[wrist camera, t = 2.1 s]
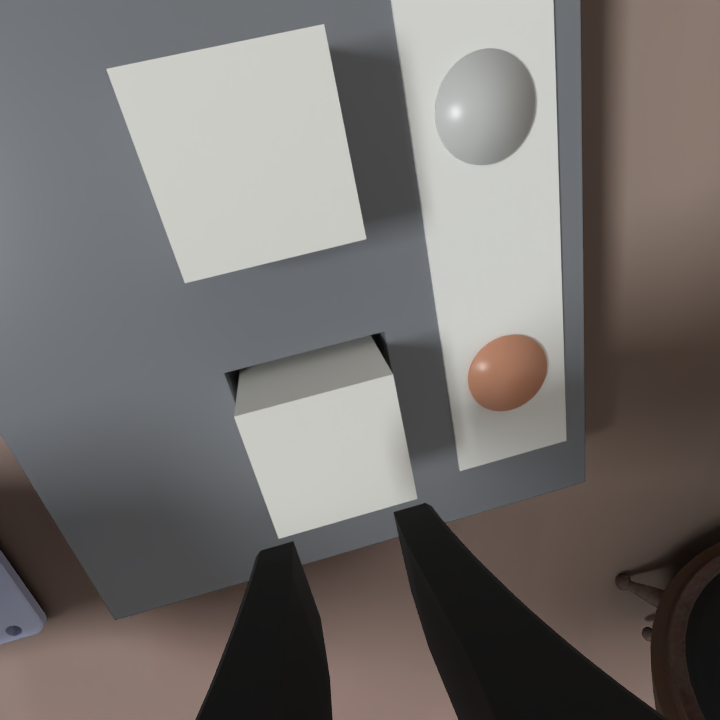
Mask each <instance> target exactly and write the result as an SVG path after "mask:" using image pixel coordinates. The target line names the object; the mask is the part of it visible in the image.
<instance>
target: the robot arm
mask: <svg viewBox="0 0 720 720" xmlns="http://www.w3.org/2000/svg"><path fill="white" fill-rule="evenodd" d="M393 513H394V517H395V522H396V526H397V531H398V535H399V539H400V544H401V548H402V553H403V557H404V561H405V566H406V570H407V575H408V579H409V583H410V588H411V592H412V595H413V598H414V601H415V605H416V608H417V611H418V614H419V618H420V621H421V624H422V627H423V630H424V634H425V637H426V640H427V643H428V646H429V649H430V651H431V654H432V656H433V659H434V661H435V664H436V666H437V669H438V671H439V674H440V676H441V678H442V681H443V683H444V686H445V688H446V691H447V693H448V695H449V698H450V700H451V703H452V705H453V708H454V710H455V712H456V715H457V717H458V720H668V719H667V718H665V717H664V716H662V715H661V714H660V713H658V712H657V711H656V710H654V709H653V708H652V707H650V706H649V705H647V704H646V703H645V702H643V701H642V700H641V699H639V698H638V697H637V696H635V695H634V694H633V693H631V692H630V691H628V690H627V689H626V688H625V687H623V686H622V685H621V684H619V683H618V682H617V681H616V680H614V679H613V678H612V677H610V676H609V675H608V674H606V673H605V672H604V671H603V670H601V669H600V668H599V667H597V666H596V665H595V664H594V663H592V662H591V661H590V660H589V659H587V658H586V657H585V656H584V655H583V654H581V653H580V652H579V651H578V650H576V649H575V648H574V647H573V646H572V645H570V644H569V643H568V642H567V641H566V640H564V639H563V638H562V637H561V636H560V635H558V634H557V633H556V632H555V631H554V630H553V629H552V628H550V627H549V626H548V625H547V624H546V623H545V622H544V621H542V620H541V619H540V618H539V617H538V616H537V615H536V614H534V613H533V612H532V611H531V610H530V609H529V608H528V607H527V606H526V605H524V604H523V603H522V602H521V601H520V600H519V599H518V598H517V597H516V596H515V595H514V594H513V593H512V592H511V591H509V590H508V589H507V588H506V587H505V586H504V585H503V584H502V583H501V582H500V581H499V580H498V579H497V578H496V577H495V576H494V575H493V574H492V573H491V572H490V571H489V570H488V569H487V568H486V567H485V566H484V565H483V564H482V563H481V562H480V561H479V560H478V559H477V558H476V557H475V556H474V555H473V554H472V553H471V552H470V551H469V550H468V548H467V547H466V546H465V545H464V544H463V543H462V542H461V541H460V540H459V539H458V538H457V536H456V535H455V534H454V533H453V532H452V531H451V530H450V528H449V527H448V526H447V525H446V524H445V522H444V521H443V520H442V519H441V518H440V516H439V515H438V514H437V512H436V511H435V510H434V508H433V507H432V506H431V505H429V504H427V503H423V504H420V505H416V506H413V507H409V508H406V509H402V510H399V511H395V512H393ZM46 620H47V617H46V614H45V613H44V612H43V610H42V609H41V607H40V606H39V604H38V603H37V602H36V600H35V599H34V597H33V596H32V594H31V593H30V592H29V590H28V589H27V587H26V586H25V584H24V583H23V582H22V580H21V579H20V577H19V576H18V574H17V573H16V572H15V570H14V569H13V567H12V566H11V564H10V563H9V562H8V560H7V559H6V557H5V556H4V554H3V553H2V552H1V550H0V644H4V643H7V642H11V641H14V640H17V639H21V638H24V637H28V636H31V635H35V634H37V633H39V632H40V631H41V630H42V629H43V627H44V625H45V623H46ZM14 625H15V626H14ZM196 720H332V705H331V689H330V676H329V670H328V663H327V656H326V650H325V643H324V637H323V631H322V625H321V618H320V615H319V612H318V610H317V607H316V604H315V601H314V598H313V595H312V593H311V590H310V587H309V584H308V581H307V578H306V575H305V573H304V570H303V567H302V564H301V561H300V558H299V555H298V553H297V550H296V547H295V544H294V541H292V542H289V543H285V544H282V545H278V546H275V547H271V548H268V549H264V550H261V551H260V552H259V553H258V555H257V556H256V558H255V562H254V565H253V569H252V572H251V575H250V579H249V582H248V585H247V588H246V591H245V594H244V597H243V600H242V603H241V606H240V609H239V612H238V615H237V617H236V620H235V623H234V626H233V629H232V631H231V634H230V637H229V639H228V642H227V644H226V647H225V650H224V652H223V655H222V657H221V660H220V662H219V665H218V668H217V670H216V673H215V675H214V678H213V680H212V683H211V685H210V688H209V690H208V692H207V695H206V697H205V699H204V701H203V704H202V706H201V708H200V711H199V713H198V715H197V718H196Z"/></svg>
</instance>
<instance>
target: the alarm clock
mask: <svg viewBox="0 0 720 720" xmlns="http://www.w3.org/2000/svg"><path fill="white" fill-rule="evenodd" d="M616 585H617V587H618V588H619V589H621V590H630V591H631V592H633V593H634V594H636V595H638V596H639V597H641V598H642V599H644V600H645V601H647V602H649V603H650V604H652V605H653V606H655V607H656V608H657V611H656V613H655V617H654V622H653V627H652V628H650V627H645V628H644V629H643V631H642V635H643V637H644V638H645V639H646V640H647V641H651V671H652V682H653V692H654V700H655V707H656V711H657V712H658V713H660V714H661V715H662V716H664V717H665V718H667V719H668V720H720V542H719V543H717V544H715V545H713V546H711V547H709V548H708V549H706V550H704V551H703V552H701V553H700V554H698V555H697V556H696V557H694V558H693V559H692V560H690V561H689V562H688V563H687V564H686V565H685V566H684V567H683V568H682V569H681V570H680V571H679V572H678V573H677V574H676V575H675V577H674V578H673V579H672V581H671V582H670V584H669V585H668V587H667V588H666V590H661V589H658V588H654V587H650V586H647V585H643V584H640V583H636V582H632V581H631V580H630V579H629V577H628V576H626V575H619V576H618V577H617V578H616Z"/></svg>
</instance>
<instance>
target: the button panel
mask: <svg viewBox="0 0 720 720" xmlns="http://www.w3.org/2000/svg"><path fill="white" fill-rule="evenodd" d="M322 24H324V26H325V31H326V36H327V41H328V46H329V51H330V57H331V62H332V67H333V72H334V77H335V82H336V87H337V92H338V97H339V102H340V107H341V112H342V117H343V123H344V128H345V133H346V138H347V143H348V148H349V153H350V158H351V163H352V168H353V173H354V178H355V184H356V189H357V194H358V199H359V204H360V209H361V214H362V219H363V224H364V229H365V234H366V239H365V240H361V241H357V242H353V243H349V244H345V245H340V246H336V247H332V248H328V249H324V250H320V251H316V252H312V253H308V254H303V255H299V256H295V257H291V258H287V259H283V260H279V261H275V262H271V263H266V264H262V265H258V266H254V267H250V268H246V269H242V270H238V271H234V272H229V273H225V274H221V275H217V276H213V277H209V278H205V279H201V280H197V281H192V282H188V283H185V282H184V280H183V277H182V274H181V271H180V269H179V266H178V263H177V260H176V258H175V255H174V252H173V250H172V247H171V244H170V241H169V239H168V236H167V233H166V231H165V228H164V225H163V222H162V220H161V217H160V214H159V211H158V209H157V206H156V203H155V201H154V198H153V195H152V192H151V190H150V187H149V184H148V182H147V179H146V176H145V173H144V171H143V168H142V165H141V162H140V160H139V157H138V154H137V152H136V149H135V146H134V143H133V141H132V138H131V135H130V133H129V130H128V127H127V124H126V122H125V119H124V116H123V113H122V111H121V108H120V105H119V103H118V100H117V97H116V94H115V92H114V89H113V86H112V83H111V81H110V78H109V75H108V73H107V70H106V69H108V68H113V67H118V66H122V65H127V64H132V63H137V62H142V61H147V60H152V59H156V58H161V57H166V56H171V55H176V54H181V53H186V52H190V51H195V50H200V49H205V48H210V47H215V46H220V45H225V44H229V43H234V42H239V41H244V40H249V39H254V38H259V37H263V36H268V35H273V34H278V33H283V32H288V31H293V30H297V29H302V28H307V27H312V26H317V25H322ZM369 335H371V337H372V339H373V340H374V342H375V344H376V346H377V347H378V349H379V351H380V353H381V354H382V356H383V358H384V359H385V361H386V363H387V365H388V366H389V368H390V370H391V372H392V373H393V377H394V382H395V387H396V392H397V397H398V402H399V407H400V412H401V417H402V422H403V427H404V432H405V438H406V443H407V448H408V453H409V458H410V463H411V468H412V473H413V478H414V483H415V488H416V493H417V498H418V499H415V500H412V501H408V502H405V503H401V504H398V505H394V506H391V507H387V508H384V509H381V510H377V511H374V512H370V513H367V514H363V515H360V516H356V517H353V518H349V519H346V520H342V521H339V522H336V523H332V524H329V525H325V526H322V527H318V528H315V529H311V530H308V531H304V532H301V533H298V534H294V535H291V536H287V537H284V538H280V539H279V538H278V536H277V533H276V530H275V527H274V525H273V522H272V519H271V516H270V514H269V511H268V508H267V506H266V503H265V500H264V497H263V495H262V492H261V489H260V487H259V484H258V481H257V478H256V476H255V473H254V470H253V467H252V465H251V462H250V459H249V457H248V454H247V451H246V448H245V446H244V443H243V440H242V437H241V435H240V432H239V429H238V427H237V424H236V421H235V418H234V412H235V404H236V397H237V389H238V382H239V374H240V369H242V368H246V367H250V366H253V365H257V364H261V363H265V362H269V361H273V360H277V359H280V358H284V357H288V356H292V355H296V354H300V353H304V352H307V351H311V350H315V349H319V348H323V347H327V346H331V345H334V344H338V343H342V342H346V341H350V340H354V339H357V338H361V337H365V336H369ZM0 434H1V435H2V437H3V439H4V440H5V442H6V444H7V445H8V447H9V448H10V450H11V452H12V453H13V455H14V457H15V458H16V460H17V461H18V463H19V465H20V466H21V468H22V470H23V471H24V473H25V474H26V476H27V478H28V479H29V481H30V483H31V484H32V486H33V487H34V489H35V491H36V492H37V494H38V496H39V497H40V499H41V500H42V502H43V504H44V505H45V507H46V509H47V510H48V512H49V513H50V515H51V517H52V518H53V520H54V522H55V523H56V525H57V526H58V528H59V530H60V531H61V533H62V535H63V536H64V538H65V539H66V541H67V543H68V544H69V546H70V548H71V549H72V551H73V552H74V554H75V556H76V557H77V559H78V561H79V562H80V564H81V565H82V567H83V569H84V570H85V572H86V574H87V575H88V577H89V578H90V580H91V582H92V583H93V585H94V587H95V588H96V590H97V591H98V593H99V595H100V596H101V598H102V600H103V601H104V603H105V604H106V606H107V608H108V609H109V611H110V613H111V614H112V616H113V617H114V619H115V620H118V619H121V618H125V617H128V616H131V615H135V614H138V613H142V612H145V611H148V610H152V609H155V608H158V607H162V606H165V605H169V604H172V603H175V602H179V601H182V600H186V599H189V598H192V597H196V596H199V595H203V594H206V593H209V592H213V591H216V590H220V589H223V588H226V587H230V586H233V585H237V584H240V583H243V582H247V581H249V579H250V575H251V572H252V569H253V565H254V562H255V558H256V556H257V555H258V553H259V552H260V551H261V550H264V549H268V548H271V547H275V546H278V545H282V544H285V543H289V542H292V541H294V544H295V547H296V550H297V553H298V555H299V558H300V561H301V564H302V565H304V564H308V563H311V562H315V561H318V560H321V559H325V558H328V557H332V556H335V555H338V554H342V553H345V552H349V551H352V550H355V549H359V548H362V547H366V546H369V545H372V544H376V543H379V542H383V541H386V540H389V539H393V538H396V537H399V535H398V531H397V526H396V522H395V517H394V513H393V512H395V511H399V510H402V509H406V508H409V507H413V506H416V505H420V504H423V503H427V504H429V505H431V506H432V507H433V508H434V510H435V511H436V512H437V514H438V515H439V516H440V518H441V519H442V520H443V521H444V522H445V523H447V522H450V521H454V520H457V519H461V518H464V517H467V516H471V515H474V514H478V513H481V512H484V511H488V510H491V509H495V508H498V507H501V506H505V505H508V504H512V503H515V502H518V501H522V500H525V499H528V498H532V497H535V496H539V495H542V494H545V493H549V492H552V491H556V490H559V489H562V488H566V487H569V486H573V485H576V484H579V483H583V482H585V399H584V303H583V207H582V112H581V16H580V0H0Z"/></svg>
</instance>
